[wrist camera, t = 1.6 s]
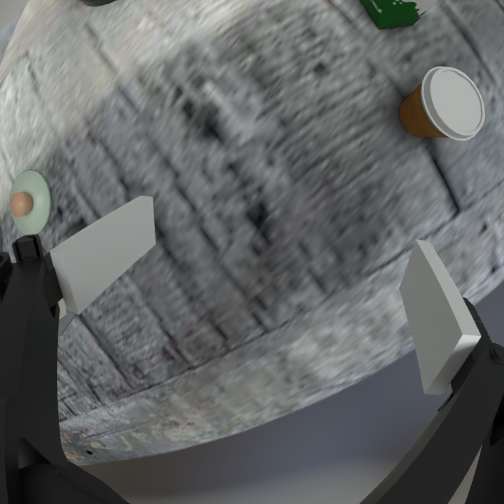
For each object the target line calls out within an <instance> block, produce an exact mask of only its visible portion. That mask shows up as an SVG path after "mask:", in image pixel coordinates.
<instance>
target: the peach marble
mask: <svg viewBox="0 0 504 504" xmlns="http://www.w3.org/2000/svg"><path fill="white" fill-rule="evenodd" d="M10 207H11V211H12V213H13V215H14V216H15V217H22V216H26V215H27V214H28V213H29V211H31V210H32V207H33V199H32V197H31V195H29V194H28V193H27V192H16V193H14V194H13V196H12V198H11V202H10Z"/></svg>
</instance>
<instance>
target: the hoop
mask: <svg viewBox="0 0 504 504" xmlns="http://www.w3.org/2000/svg"><path fill="white" fill-rule="evenodd" d="M1 252H2V237H1V229H0V253H1Z"/></svg>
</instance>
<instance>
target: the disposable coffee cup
mask: <svg viewBox="0 0 504 504" xmlns="http://www.w3.org/2000/svg"><path fill="white" fill-rule="evenodd" d="M399 114H400V119H401V122H402V124H403V126H404V127H405V129H406V130H407V131H408V132H409V133H411V134H412V135H414V136H417V137H449V138H452V139H454V140H459V141H464V140H469V139H471V138H472V137H474V136H475V135H476V134H477V132H478V131H479V130H480V129H481V127H482V125H483V122H484V118H485V108H484V104H483V100H482V97H481V94H480V92H479V90H478V89H477V87H476V85H475V84H474V83H473V82H472V80H471V79H470V78H469V77H468V76H467V75H465V74H464V73H463V72H461V71H459V70H457V69H455V68H450V67H436V68H433V69H431V70H430V71H428V72H427V74H426V75H425V77H424V79H423V82H422V83H421V84H420V85H419V86H418V87H417V88H416V89H415V90H414V91H413V92H412V93H411V94H410V95H409V96H408V97H407V98H406V99H405V100H404V101H403V102H402V104H401V106H400V110H399Z"/></svg>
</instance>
